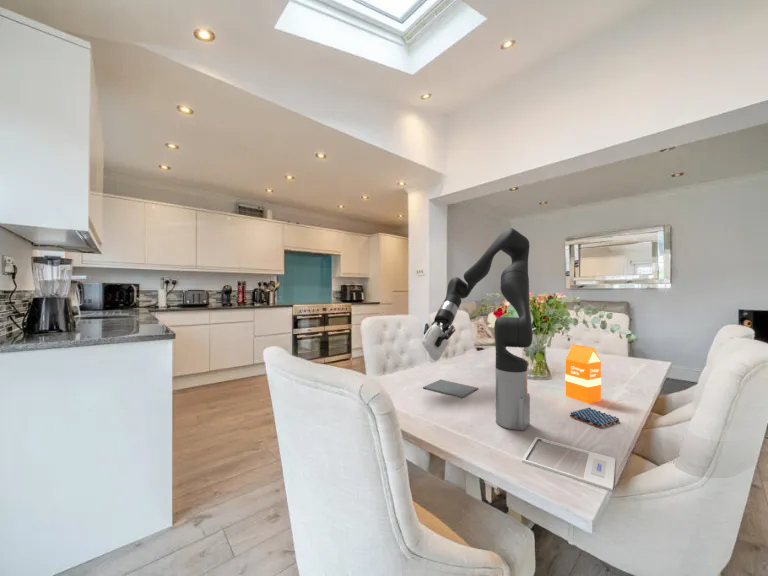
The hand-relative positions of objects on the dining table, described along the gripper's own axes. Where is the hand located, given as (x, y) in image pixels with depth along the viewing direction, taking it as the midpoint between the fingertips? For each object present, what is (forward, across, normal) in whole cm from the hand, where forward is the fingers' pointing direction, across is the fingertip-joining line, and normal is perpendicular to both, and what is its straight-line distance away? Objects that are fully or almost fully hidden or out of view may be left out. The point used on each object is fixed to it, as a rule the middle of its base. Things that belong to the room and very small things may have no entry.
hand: (431, 345), depth 125 cm
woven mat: (+5, -53, -24) cm, 58 cm away
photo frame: (+28, -52, -2) cm, 59 cm away
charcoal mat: (+6, -3, -21) cm, 22 cm away
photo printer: (-3, 0, -7) cm, 8 cm away
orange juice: (-10, -47, -37) cm, 61 cm away
